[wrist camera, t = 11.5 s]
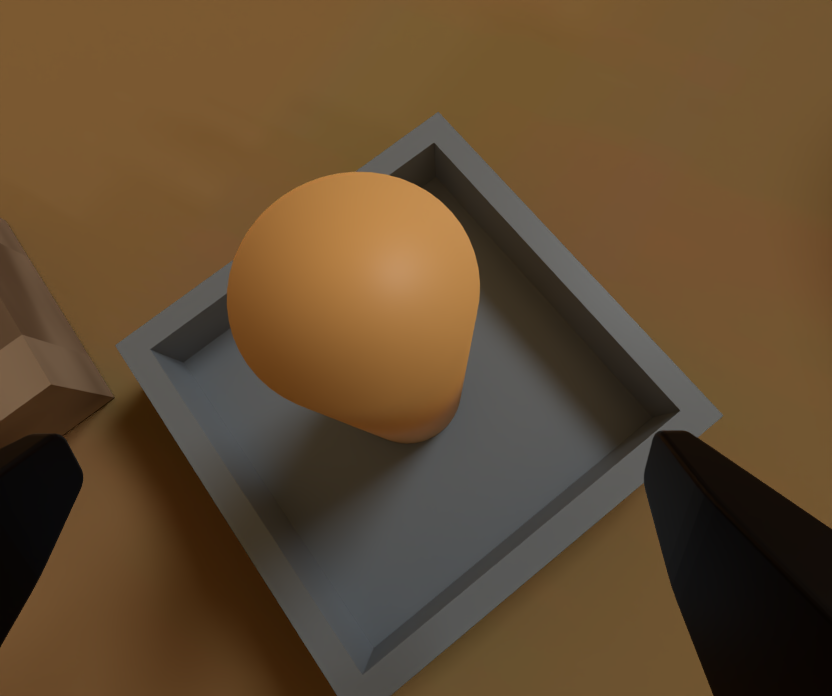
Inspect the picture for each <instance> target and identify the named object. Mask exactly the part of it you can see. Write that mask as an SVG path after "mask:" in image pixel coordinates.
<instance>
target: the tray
mask: <svg viewBox="0 0 832 696" xmlns="http://www.w3.org/2000/svg"><path fill="white" fill-rule="evenodd" d="M356 172H373V173H380V174H386V175H390V176H394V177H397V178H401V179H403V180H406V181H408V182H411V183H413V184H415V185H417V186H419V187H421V188H422V189H424V190H426V191H428V192H429V193H431V194H432V195H433V196H434V197H436V198H437V199H438V200H440V201H441V202H442V203H443V204H444V205H445V206H446V207H447V208H448V209H449V210H450V211H451V212H452V213H453V214H454V216H455V217H456V218H457V220H458V221H459V222H460V224H461V225H462V227H463V228H464V230H465V232H466V234H467V236H468V237H469V240H470V242H471V245H472V247H473V250H474V252H475V256H476V260H477V264H478V269H479V279H480V296H479V305H478V310H477V316H476V321H475V326H474V331H473V336H472V342H471V347H470V352H469V357H468V362H467V367H466V373H465V378H464V383H463V388H462V393H461V398H460V403H459V406H458V410H457V412H456V414H455V416H454V417H453V419H452V421H451V422H450V423H449V424H448V426H447V427H446V428H445V429H444V430H442V431H441V432H440V433H439V434H437V435H436V436H434V437H432V438H430V439H428V440H425V441H422V442H418V443H410V444H404V443H397V442H392V441H389V440H387V439H384V438H381V437H379V436H376V435H374V434H371V433H369V432H366V431H364V430H361V429H358V428H356V427H353V426H351V425H348V424H346V423H343V422H341V421H338V420H335V419H333V418H330V417H328V416H325V415H323V414H320V413H317V412H315V411H312V410H310V409H307V408H305V407H302V406H300V405H297V404H295V403H293V402H291V401H289V400H287V399H285V398H283V397H282V396H280V395H279V394H277V393H276V392H275V391H273V390H272V389H270V388H269V387H268V386H267V385H266V384H265V383H263V382H262V381H261V380H260V379H259V378H258V377H257V376H256V375H255V373H254V372H253V371H252V370H251V368H250V367H249V366H248V365H247V363H246V362H245V360H244V358H243V357H242V355H241V353H240V352H239V350H238V347H237V345H236V342H235V340H234V338H233V335H232V331H231V327H230V324H229V319H228V311H227V287H228V280H229V274H230V270H231V267H232V263H233V261H231V262H230V263H228V264H227V265H226V266H224V267H223V268H222V269H220V270H219V271H217V272H216V273H215V274H213V275H212V276H210V277H209V278H208V279H206V280H205V281H204V282H202V283H201V284H199V285H198V286H197V287H195V288H194V289H192V290H191V291H190V292H188V293H187V294H186V295H184V296H183V297H181V298H180V299H179V300H177V301H176V302H175V303H173V304H172V305H170V306H169V307H168V308H166V309H165V310H163V311H162V312H161V313H159V314H158V315H157V316H155V317H154V318H152V319H151V320H150V321H148V322H147V323H145V324H144V325H143V326H141V327H140V328H139V329H137V330H136V331H134V332H133V333H132V334H130V335H129V336H127V337H126V338H125V339H123V340H122V341H121V342H119V343H118V344H116V345H115V346H116V347H117V349H118V351H119V352H120V354H121V355H122V357H123V359H124V360H125V362H126V363H127V365H128V366H129V368H130V370H131V371H132V373H133V374H134V376H135V377H136V379H137V381H138V382H139V384H140V385H141V387H142V388H143V390H144V392H145V393H146V395H147V396H148V398H149V400H150V401H151V403H152V404H153V406H154V407H155V409H156V411H157V412H158V414H159V415H160V417H161V418H162V420H163V422H164V423H165V425H166V426H167V428H168V430H169V431H170V433H171V434H172V436H173V437H174V439H175V441H176V442H177V444H178V445H179V447H180V448H181V450H182V452H183V453H184V455H185V456H186V458H187V460H188V461H189V463H190V464H191V466H192V467H193V469H194V471H195V472H196V474H197V475H198V477H199V478H200V480H201V482H202V483H203V485H204V486H205V488H206V489H207V491H208V493H209V494H210V496H211V497H212V499H213V501H214V502H215V504H216V505H217V507H218V508H219V510H220V512H221V513H222V515H223V516H224V518H225V519H226V521H227V523H228V524H229V526H230V527H231V529H232V531H233V532H234V534H235V535H236V537H237V538H238V540H239V542H240V543H241V545H242V546H243V548H244V549H245V551H246V553H247V554H248V556H249V557H250V559H251V560H252V562H253V564H254V565H255V567H256V568H257V570H258V572H259V573H260V575H261V576H262V578H263V579H264V581H265V583H266V584H267V586H268V587H269V589H270V590H271V592H272V594H273V595H274V597H275V598H276V600H277V602H278V603H279V605H280V606H281V608H282V609H283V611H284V613H285V614H286V616H287V617H288V619H289V620H290V622H291V624H292V625H293V627H294V628H295V630H296V632H297V633H298V635H299V636H300V638H301V639H302V641H303V643H304V644H305V646H306V647H307V649H308V650H309V652H310V654H311V655H312V657H313V658H314V660H315V661H316V663H317V665H318V666H319V668H320V669H321V671H322V673H323V674H324V676H325V677H326V679H327V680H328V682H329V684H330V685H331V687H332V688H333V690H334V691H335V693H336V695H337V696H391V695H392V694H393V693H394V692H395V691H396V690H398V689H399V688H400V687H401V686H402V685H404V684H405V683H406V682H407V681H408V680H410V679H411V678H412V677H413V676H414V675H416V674H417V673H418V672H419V671H420V670H421V669H423V668H424V667H425V666H426V665H427V664H429V663H430V662H431V661H432V660H433V659H435V658H436V657H437V656H438V655H439V654H440V653H442V652H443V651H444V650H445V649H446V648H448V647H449V646H450V645H451V644H452V643H454V642H455V641H456V640H457V639H458V638H460V637H461V636H462V635H463V634H464V633H465V632H467V631H468V630H469V629H470V628H471V627H473V626H474V625H475V624H476V623H477V622H479V621H480V620H481V619H482V618H483V617H484V616H486V615H487V614H488V613H489V612H490V611H492V610H493V609H494V608H495V607H496V606H498V605H499V604H500V603H501V602H502V601H504V600H505V599H506V598H507V597H508V596H509V595H511V594H512V593H513V592H514V591H515V590H517V589H518V588H519V587H520V586H521V585H523V584H524V583H525V582H526V581H527V580H528V579H530V578H531V577H532V576H533V575H534V574H536V573H537V572H538V571H539V570H540V569H542V568H543V567H544V566H545V565H546V564H548V563H549V562H550V561H551V560H552V559H553V558H555V557H556V556H557V555H558V554H559V553H561V552H562V551H563V550H564V549H565V548H567V547H568V546H569V545H570V544H571V543H573V542H574V541H575V540H576V539H577V538H578V537H580V536H581V535H582V534H583V533H584V532H586V531H587V530H588V529H589V528H590V527H592V526H593V525H594V524H595V523H596V522H597V521H599V520H600V519H601V518H602V517H603V516H605V515H606V514H607V513H608V512H609V511H611V510H612V509H613V508H614V507H615V506H617V505H618V504H619V503H620V502H621V501H622V500H624V499H625V498H626V497H627V496H628V495H630V494H631V493H632V492H633V491H634V490H636V489H637V488H638V487H639V486H640V485H641V484H643V483H644V470H645V466H646V462H647V458H648V455H649V451H650V447H651V443H652V439H653V437H654V435H655V433H657V432H658V431H661V430H683V431H687V432H690V433H691V434H693V435H694V436H696V437H699V436H700V435H701V434H702V433H703V432H705V431H706V430H707V429H708V428H709V427H710V426H712V425H713V424H714V423H715V422H716V421H718V420H719V419H720V418H721V417H722V416H723V415H722V414H721V413H720V411H719V410H718V409H717V408H716V407H715V406H714V405H713V404H712V403H711V402H710V401H709V400H708V399H707V398H706V397H705V395H704V394H703V393H702V392H701V391H700V390H699V389H698V388H697V387H696V386H695V385H694V384H693V383H692V382H691V381H690V380H689V378H688V377H687V376H686V375H685V374H684V373H683V372H682V371H681V370H680V369H679V368H678V367H677V366H676V365H675V364H674V362H673V361H672V360H671V359H670V358H669V357H668V356H667V355H666V354H665V353H664V352H663V351H662V350H661V349H660V348H659V346H658V345H657V344H656V343H655V342H654V341H653V340H652V339H651V338H650V337H649V336H648V335H647V334H646V333H645V332H644V331H643V329H642V328H641V327H640V326H639V325H638V324H637V323H636V322H635V321H634V320H633V319H632V318H631V317H630V316H629V315H628V313H627V312H626V311H625V310H624V309H623V308H622V307H621V306H620V305H619V304H618V303H617V302H616V301H615V300H614V299H613V298H612V296H611V295H610V294H609V293H608V292H607V291H606V290H605V289H604V288H603V287H602V286H601V285H600V284H599V283H598V282H597V280H596V279H595V278H594V277H593V276H592V275H591V274H590V273H589V272H588V271H587V270H586V269H585V268H584V267H583V266H582V265H581V263H580V262H579V261H578V260H577V259H576V258H575V257H574V256H573V255H572V254H571V253H570V252H569V251H568V250H567V249H566V247H565V246H564V245H563V244H562V243H561V242H560V241H559V240H558V239H557V238H556V237H555V236H554V235H553V234H552V233H551V231H550V230H549V229H548V228H547V227H546V226H545V225H544V224H543V223H542V222H541V221H540V220H539V219H538V218H537V217H536V216H535V214H534V213H533V212H532V211H531V210H530V209H529V208H528V207H527V206H526V205H525V204H524V203H523V202H522V201H521V200H520V198H519V197H518V196H517V195H516V194H515V193H514V192H513V191H512V190H511V189H510V188H509V187H508V186H507V185H506V184H505V183H504V181H503V180H502V179H501V178H500V177H499V176H498V175H497V174H496V173H495V172H494V171H493V170H492V169H491V168H490V167H489V165H488V164H487V163H486V162H485V161H484V160H483V159H482V158H481V157H480V156H479V155H478V154H477V153H476V152H475V151H474V150H473V148H472V147H471V146H470V145H469V144H468V143H467V142H466V141H465V140H464V139H463V138H462V137H461V136H460V135H459V134H458V132H457V131H456V130H455V129H454V128H453V127H452V126H451V125H450V124H449V123H448V122H447V121H446V120H445V119H444V118H443V116H442V115H441V114H440V113H439V112H437V113H436V114H435V115H433V116H432V117H431V118H429V119H428V120H426V121H425V122H424V123H422V124H421V125H419V126H418V127H417V128H415V129H414V130H413V131H411V132H410V133H408V134H407V135H406V136H404V137H403V138H401V139H400V140H399V141H397V142H396V143H395V144H393V145H392V146H390V147H389V148H388V149H386V150H385V151H383V152H382V153H381V154H379V155H378V156H377V157H375V158H374V159H372V160H371V161H370V162H368V163H367V164H365V165H364V166H363V167H361V168H360V169H359V170H357V171H356Z"/></svg>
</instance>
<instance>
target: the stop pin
mask: <svg viewBox="0 0 832 696" xmlns="http://www.w3.org/2000/svg"><path fill="white" fill-rule="evenodd" d="M479 296H480V279H479V269H478V264H477V260H476V256H475V252H474V250H473V247H472V245H471V242H470V240H469V237H468V236H467V234H466V232H465V230H464V228H463V227H462V225H461V224H460V222H459V221H458V220H457V218H456V217H455V216H454V214H453V213H452V212H451V211H450V210H449V209H448V208H447V207H446V206H445V205H444V204H443V203H442V202H441V201H440V200H438V199H437V198H436V197H434V196H433V195H432V194H431V193H429V192H428V191H426V190H424V189H422V188H421V187H419V186H417V185H415V184H413V183H411V182H408V181H406V180H403V179H401V178H397V177H394V176H390V175H386V174H380V173H373V172H347V173H338V174H333V175H329V176H324V177H321V178H318V179H315V180H312V181H309V182H307V183H305V184H303V185H301V186H299V187H297V188H294V189H293V190H291V191H290V192H288V193H287V194H285V195H283V196H282V197H280V198H279V199H278V200H277V201H275V202H274V203H273V204H272V205H270V206H269V207H268V208H267V209H266V210H265V211H264V212H263V213H262V214H261V215H260V216H259V217H258V218H257V220H256V221H255V222H254V224H253V225H252V226H251V227H250V229H249V230H248V232H247V233H246V235H245V237H244V238H243V240H242V242H241V243H240V246H239V248H238V250H237V252H236V255H235V257H234V260H233V263H232V267H231V270H230V274H229V280H228V287H227V311H228V319H229V324H230V327H231V331H232V335H233V338H234V340H235V342H236V345H237V347H238V350H239V352H240V353H241V355H242V357H243V358H244V360H245V362H246V363H247V365H248V366H249V367H250V368H251V370H252V371H253V372H254V373H255V375H256V376H257V377H258V378H259V379H260V380H261V381H262V382H263V383H265V384H266V385H267V386H268V387H269V388H270V389H272V390H273V391H275V392H276V393H277V394H279V395H280V396H282V397H283V398H285V399H287V400H289V401H291V402H293V403H295V404H297V405H300V406H302V407H305V408H307V409H310V410H312V411H315V412H317V413H320V414H323V415H325V416H328V417H330V418H333V419H335V420H338V421H341V422H343V423H346V424H348V425H351V426H353V427H356V428H358V429H361V430H364V431H366V432H369V433H371V434H374V435H376V436H379V437H381V438H384V439H387V440H389V441H392V442H397V443H404V444H410V443H418V442H422V441H425V440H428V439H430V438H432V437H434V436H436V435H437V434H439V433H440V432H441V431H442V430H444V429H445V428H446V427H447V426H448V424H449V423H450V422H451V421H452V419H453V417H454V416H455V414H456V412H457V410H458V406H459V403H460V398H461V393H462V388H463V383H464V378H465V373H466V367H467V362H468V357H469V352H470V347H471V342H472V336H473V331H474V326H475V321H476V316H477V310H478V305H479Z"/></svg>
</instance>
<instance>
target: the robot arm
mask: <svg viewBox="0 0 832 696" xmlns="http://www.w3.org/2000/svg"><path fill="white" fill-rule="evenodd" d="M82 483H83V472H82V469H81V467H80V465H79V463H78V462H77V460H76V458H75V456H74V454H73V452H72V450H71V448H70V446H69V445H68V443H67V441H66V439H65V438H64V437H63V436H61V435H60V434H56V433H35V434H30V435H27V436H25V437H23V438H21V439H19V440H17V441H15V442H13V443H11V444H9V445H7V446H5V447H3V448H1V449H0V647H1V645H2V643H3V642H4V640H5V638H6V636H7V635H8V633H9V631H10V629H11V628H12V626H13V624H14V622H15V621H16V619H17V617H18V615H19V614H20V612H21V610H22V608H23V607H24V605H25V603H26V601H27V600H28V598H29V596H30V594H31V593H32V591H33V589H34V587H35V585H36V583H37V582H38V580H39V578H40V576H41V574H42V572H43V570H44V568H45V566H46V563H47V561H48V559H49V557H50V555H51V553H52V550H53V548H54V546H55V544H56V542H57V539H58V537H59V535H60V533H61V531H62V529H63V526H64V524H65V522H66V520H67V518H68V515H69V513H70V511H71V509H72V507H73V505H74V502H75V500H76V498H77V496H78V494H79V491H80V489H81V487H82ZM644 486H645V490H646V494H647V498H648V501H649V505H650V509H651V513H652V516H653V520H654V524H655V528H656V531H657V535H658V539H659V543H660V546H661V550H662V554H663V558H664V561H665V565H666V569H667V572H668V576H669V579H670V583H671V586H672V589H673V592H674V594H675V597H676V600H677V603H678V606H679V608H680V611H681V613H682V616H683V618H684V621H685V624H686V626H687V629H688V631H689V634H690V636H691V639H692V642H693V644H694V647H695V649H696V652H697V654H698V657H699V660H700V662H701V665H702V667H703V670H704V672H705V675H706V678H707V680H708V683H709V685H710V688H711V690H712V693H713V696H832V529H831V528H829V527H828V526H826V525H825V524H823V523H822V522H820V521H819V520H818V519H816V518H815V517H813V516H812V515H810V514H809V513H807V512H806V511H804V510H803V509H801V508H800V507H798V506H797V505H796V504H794V503H793V502H791V501H790V500H788V499H787V498H785V497H784V496H782V495H781V494H779V493H778V492H776V491H775V490H774V489H772V488H771V487H769V486H768V485H766V484H765V483H763V482H762V481H760V480H759V479H757V478H756V477H754V476H753V475H752V474H750V473H749V472H747V471H746V470H744V469H743V468H741V467H740V466H738V465H737V464H735V463H734V462H732V461H731V460H730V459H728V458H727V457H725V456H724V455H722V454H721V453H719V452H718V451H716V450H715V449H713V448H712V447H710V446H709V445H708V444H706V443H705V442H703V441H702V440H700V439H699V438H697V437H696V436H694V435H693V434H691V433H690V432H687V431H683V430H661V431H658V432H657V433H655V435H654V437H653V439H652V443H651V447H650V451H649V455H648V458H647V462H646V466H645V470H644Z"/></svg>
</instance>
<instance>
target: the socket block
mask: <svg viewBox="0 0 832 696" xmlns="http://www.w3.org/2000/svg"><path fill="white" fill-rule="evenodd" d="M113 398H114V396H113V394H112V393H111V391H110V389H109V388H108V386H107V385H106V383H105V381H104V380H103V378H102V376H101V375H100V373H99V372H98V370H97V368H96V367H95V365H94V363H93V362H92V360H91V359H90V357H89V355H88V354H87V352H86V350H85V349H84V347H83V346H82V344H81V342H80V341H79V339H78V337H77V336H76V334H75V333H74V331H73V329H72V328H71V326H70V324H69V323H68V321H67V320H66V318H65V316H64V315H63V313H62V311H61V310H60V308H59V307H58V305H57V303H56V302H55V300H54V298H53V297H52V295H51V294H50V292H49V290H48V289H47V287H46V285H45V284H44V282H43V281H42V279H41V277H40V276H39V274H38V272H37V271H36V269H35V268H34V266H33V264H32V263H31V261H30V259H29V258H28V256H27V255H26V253H25V251H24V250H23V248H22V246H21V245H20V243H19V242H18V240H17V238H16V237H15V235H14V233H13V232H12V230H11V229H10V227H9V225H8V224H7V222H6V221H5V220H3V219H1V218H0V449H1V448H3V447H5V446H7V445H9V444H11V443H13V442H15V441H17V440H19V439H21V438H23V437H25V436H27V435H30V434H35V433H56V434H60V435H61V436H62V435H64V434H65V433H67V432H68V431H69V430H71V429H72V428H73V427H75V426H76V425H77V424H79V423H80V422H82V421H83V420H84V419H86V418H87V417H88V416H90V415H91V414H92V413H94V412H95V411H97V410H98V409H99V408H101V407H102V406H103V405H105V404H106V403H107V402H109V401H110V400H112V399H113Z"/></svg>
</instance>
